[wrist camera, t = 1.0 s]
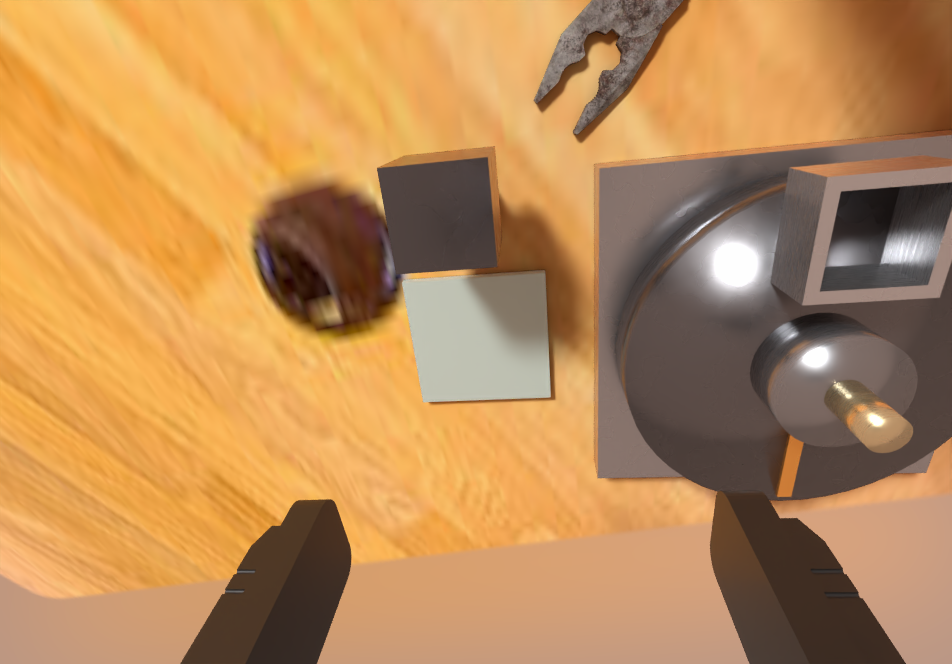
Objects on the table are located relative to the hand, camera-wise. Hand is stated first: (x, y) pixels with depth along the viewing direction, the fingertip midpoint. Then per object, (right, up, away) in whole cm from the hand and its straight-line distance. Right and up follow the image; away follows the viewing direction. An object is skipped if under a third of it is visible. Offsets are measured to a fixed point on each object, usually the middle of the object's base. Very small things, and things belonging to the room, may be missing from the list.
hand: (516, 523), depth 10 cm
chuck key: (-2, +13, +18) cm, 22 cm away
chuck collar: (+17, +4, +18) cm, 25 cm away
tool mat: (-1, +4, +22) cm, 22 cm away
